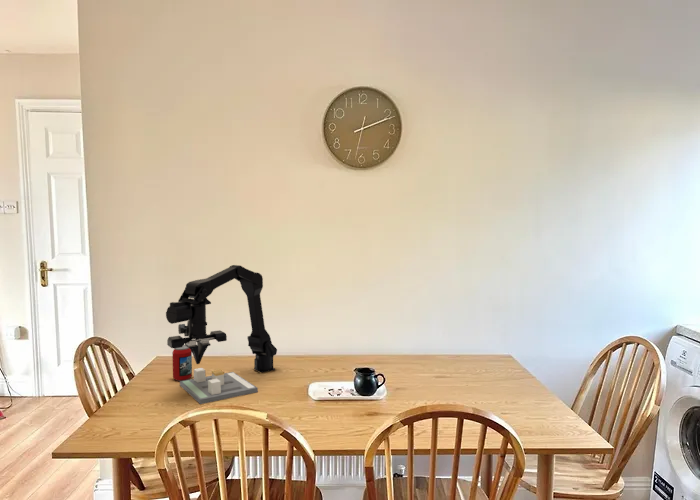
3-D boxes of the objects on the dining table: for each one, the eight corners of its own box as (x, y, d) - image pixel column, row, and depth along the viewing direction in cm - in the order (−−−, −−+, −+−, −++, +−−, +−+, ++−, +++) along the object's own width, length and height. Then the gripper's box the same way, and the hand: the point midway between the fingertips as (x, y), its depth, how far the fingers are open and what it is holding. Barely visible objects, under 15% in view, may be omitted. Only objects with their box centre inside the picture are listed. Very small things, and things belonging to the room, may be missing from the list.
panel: (233, 375, 190) (233, 371, 190) (257, 392, 172) (257, 387, 172) (179, 385, 178) (179, 381, 178) (200, 404, 160) (200, 399, 160)
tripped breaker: (220, 381, 177) (220, 369, 177) (224, 384, 174) (224, 372, 174) (211, 383, 176) (211, 371, 175) (215, 386, 173) (215, 373, 172)
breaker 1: (202, 378, 181) (202, 367, 181) (205, 381, 178) (205, 370, 178) (193, 380, 179) (193, 369, 179) (197, 382, 176) (197, 371, 176)
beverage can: (186, 382, 182) (185, 349, 181) (169, 381, 183) (168, 348, 182) (195, 376, 188) (194, 345, 188) (179, 375, 190) (178, 344, 189)
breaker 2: (216, 390, 169) (216, 378, 169) (220, 393, 166) (220, 381, 166) (208, 391, 167) (208, 380, 167) (211, 394, 164) (211, 383, 164)
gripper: (215, 312, 181) (216, 354, 182) (162, 317, 171) (163, 362, 172) (226, 317, 172) (227, 361, 173) (171, 323, 162) (172, 370, 163)
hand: (197, 363), depth 170 cm, fingers closed
